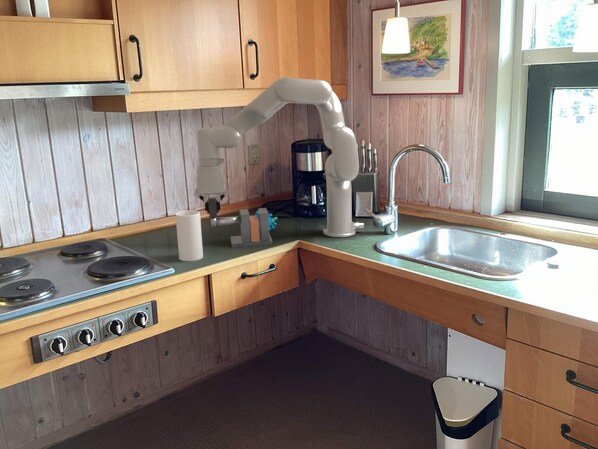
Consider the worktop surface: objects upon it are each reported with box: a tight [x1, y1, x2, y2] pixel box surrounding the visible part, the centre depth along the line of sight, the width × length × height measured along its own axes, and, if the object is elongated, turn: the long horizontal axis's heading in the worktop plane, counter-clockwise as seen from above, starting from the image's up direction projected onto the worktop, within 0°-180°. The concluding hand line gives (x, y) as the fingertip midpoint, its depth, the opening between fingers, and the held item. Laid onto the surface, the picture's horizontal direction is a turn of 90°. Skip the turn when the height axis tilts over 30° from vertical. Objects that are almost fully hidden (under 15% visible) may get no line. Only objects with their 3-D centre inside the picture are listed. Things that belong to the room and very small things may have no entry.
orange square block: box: [249, 214, 259, 242], centre depth 207 cm, size 3×8×8 cm, turn 9°
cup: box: [175, 209, 204, 262], centre depth 191 cm, size 8×8×16 cm
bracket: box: [230, 207, 274, 249], centre depth 207 cm, size 15×10×12 cm, turn 99°
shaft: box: [207, 196, 241, 228], centre depth 204 cm, size 12×4×11 cm, turn 99°
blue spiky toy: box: [254, 210, 278, 232], centre depth 228 cm, size 11×6×10 cm
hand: (213, 212), depth 203 cm, fingers closed on shaft, 2 cm apart
